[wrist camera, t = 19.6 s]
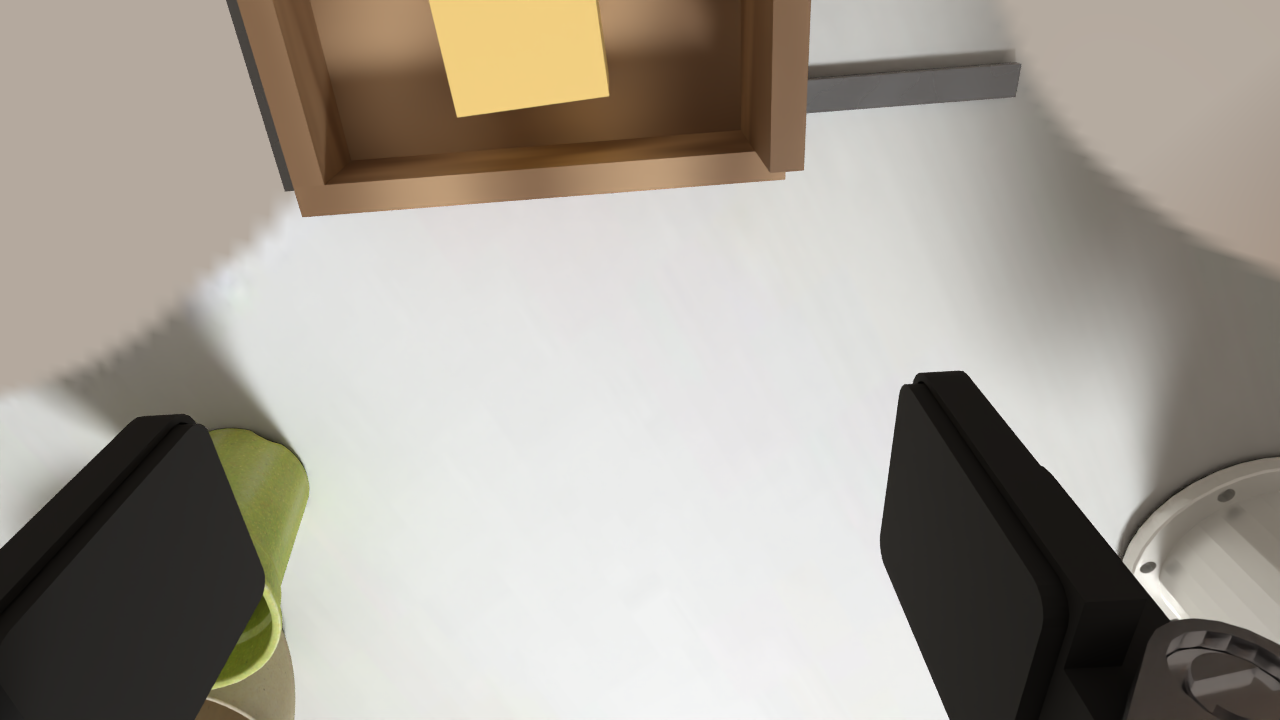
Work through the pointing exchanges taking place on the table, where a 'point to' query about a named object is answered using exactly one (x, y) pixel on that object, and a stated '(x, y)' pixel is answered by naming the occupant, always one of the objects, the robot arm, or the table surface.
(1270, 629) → the robot arm
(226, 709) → the flower pot
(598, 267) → the table surface
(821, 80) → the rail
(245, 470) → the plant pot
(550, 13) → the block
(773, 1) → the wooden crate
